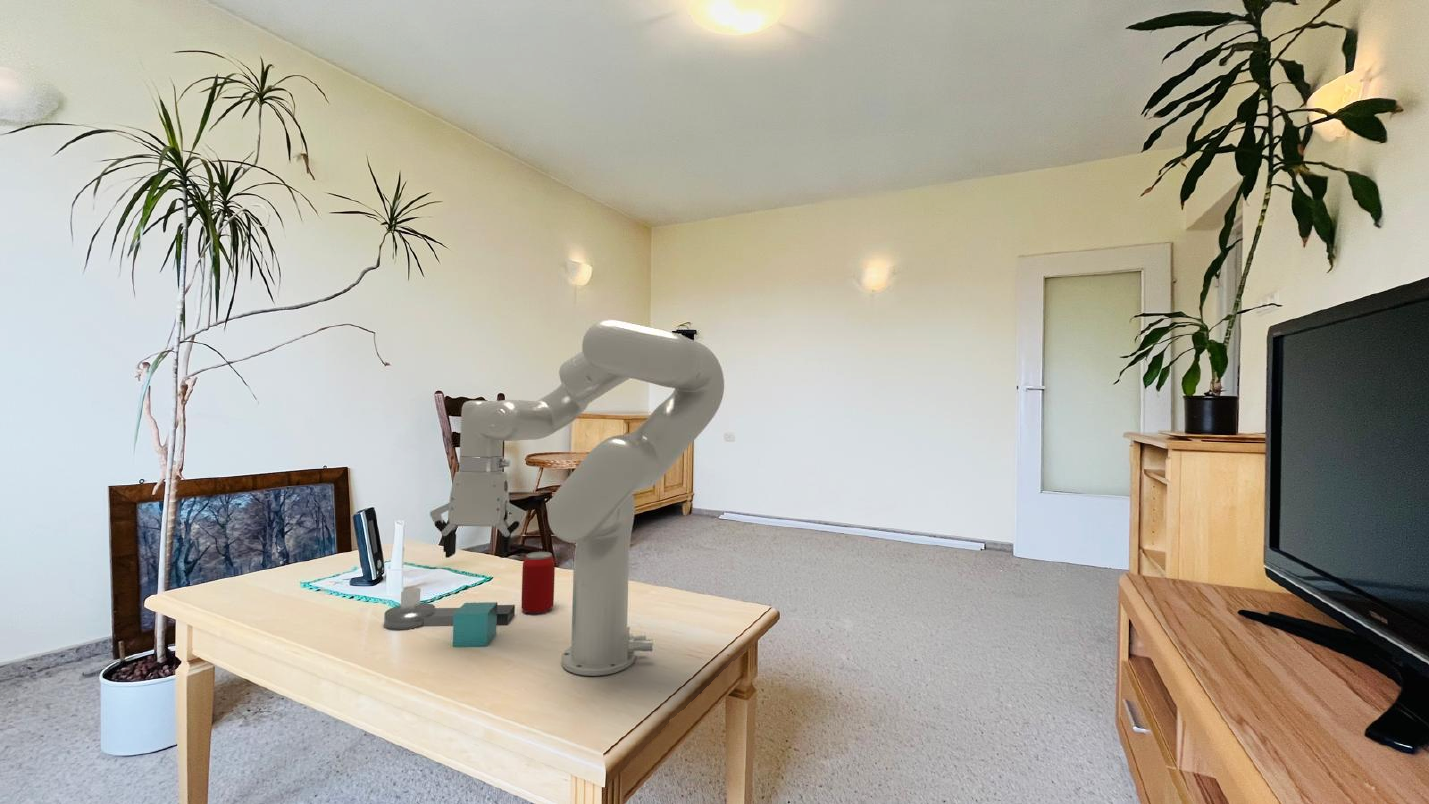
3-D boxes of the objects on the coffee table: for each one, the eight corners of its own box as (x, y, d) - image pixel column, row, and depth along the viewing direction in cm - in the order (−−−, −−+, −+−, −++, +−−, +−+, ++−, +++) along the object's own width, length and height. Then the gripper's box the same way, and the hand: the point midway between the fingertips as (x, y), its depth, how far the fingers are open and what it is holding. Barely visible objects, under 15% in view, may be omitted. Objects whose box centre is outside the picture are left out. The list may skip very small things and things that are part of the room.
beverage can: (558, 605, 122) (559, 551, 123) (546, 616, 116) (547, 559, 116) (529, 604, 123) (531, 550, 123) (515, 614, 116) (517, 557, 117)
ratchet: (516, 613, 117) (517, 582, 118) (505, 629, 109) (506, 596, 109) (397, 615, 115) (398, 583, 115) (374, 631, 106) (376, 597, 106)
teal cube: (496, 633, 106) (497, 602, 106) (486, 646, 100) (487, 613, 100) (464, 634, 105) (465, 602, 106) (452, 647, 99) (453, 613, 100)
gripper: (532, 464, 108) (528, 551, 108) (441, 462, 107) (437, 551, 106) (522, 468, 101) (518, 561, 100) (424, 466, 99) (420, 561, 99)
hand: (476, 556), depth 103 cm, fingers open, 9 cm apart
